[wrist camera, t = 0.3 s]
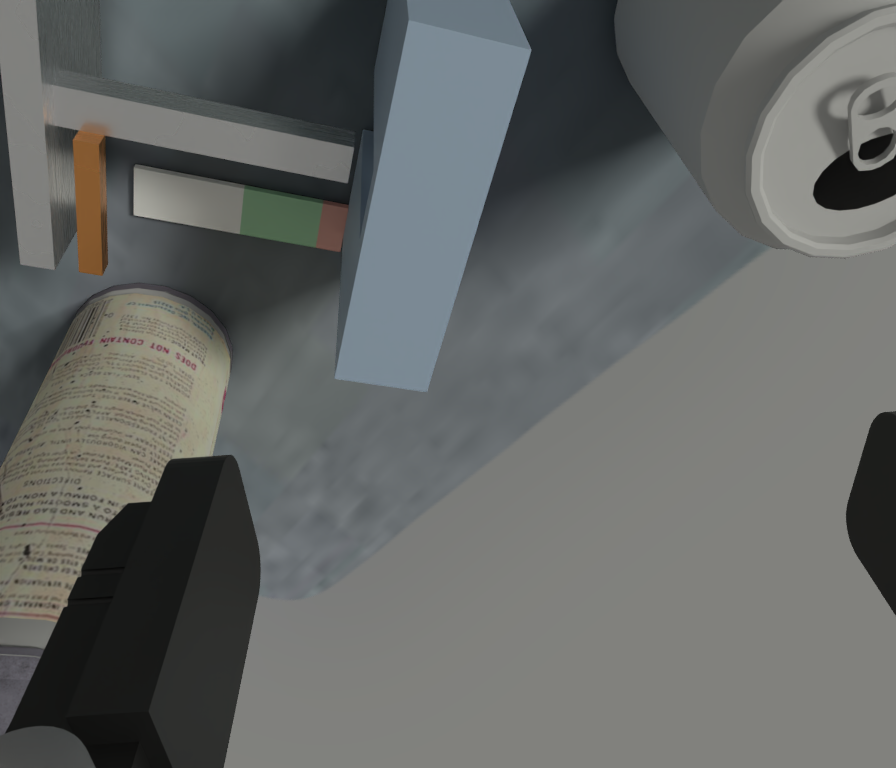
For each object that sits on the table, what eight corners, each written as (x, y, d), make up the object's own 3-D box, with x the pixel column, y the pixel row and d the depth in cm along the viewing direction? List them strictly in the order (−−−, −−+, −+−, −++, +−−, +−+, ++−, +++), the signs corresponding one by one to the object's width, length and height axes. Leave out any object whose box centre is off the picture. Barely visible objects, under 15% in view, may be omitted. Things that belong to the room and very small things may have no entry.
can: (635, 138, 30) (745, 323, 21) (582, -66, 26) (695, 59, 17) (835, 59, 29) (1044, 222, 20) (817, -172, 24) (1080, -98, 15)
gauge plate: (60, -134, 23) (-17, -95, 19) (381, -50, 25) (382, 4, 21) (75, 180, 29) (20, 267, 25) (332, 227, 31) (324, 316, 27)
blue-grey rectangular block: (136, -137, 24) (36, -71, 17) (489, -43, 26) (531, 50, 19) (135, 211, 31) (65, 358, 24) (412, 261, 33) (421, 408, 26)
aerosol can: (64, 385, 36) (-160, 875, 21) (79, 263, 32) (-184, 759, 17) (216, 419, 38) (111, 890, 23) (248, 308, 34) (146, 789, 19)
